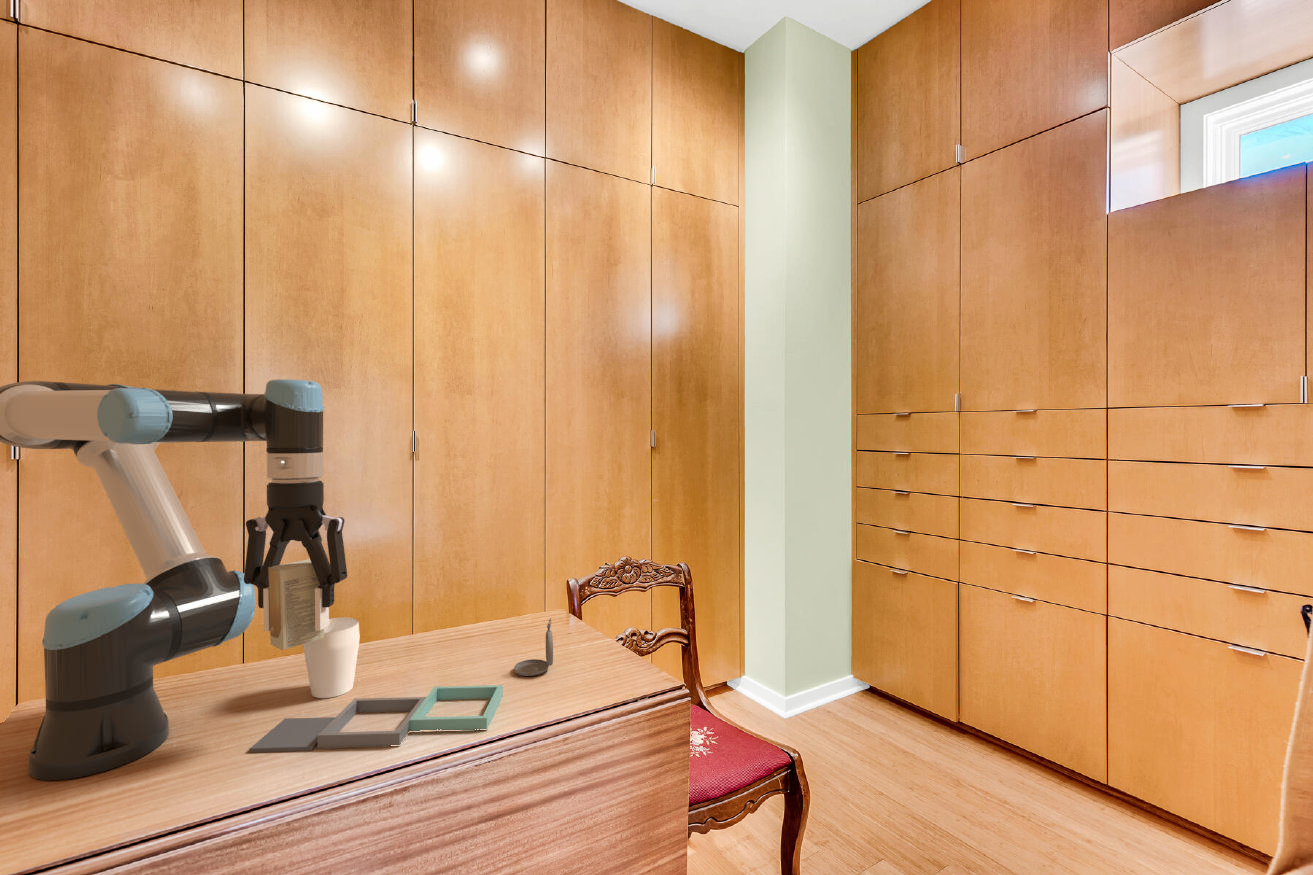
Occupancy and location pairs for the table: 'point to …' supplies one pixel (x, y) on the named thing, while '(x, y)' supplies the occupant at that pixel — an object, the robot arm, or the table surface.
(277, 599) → the skincare box
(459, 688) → the teal frame
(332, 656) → the cup
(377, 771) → the table surface
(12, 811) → the table surface
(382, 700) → the grey frame
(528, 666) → the pocket watch
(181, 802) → the table surface
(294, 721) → the slate mat
